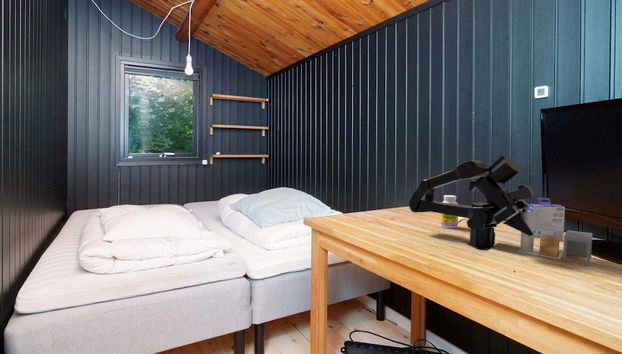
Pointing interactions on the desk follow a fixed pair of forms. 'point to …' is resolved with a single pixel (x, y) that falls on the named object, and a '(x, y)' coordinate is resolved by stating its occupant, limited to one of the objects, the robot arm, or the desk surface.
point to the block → (549, 246)
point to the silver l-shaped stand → (531, 237)
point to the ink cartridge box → (548, 219)
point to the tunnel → (577, 245)
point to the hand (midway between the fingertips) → (533, 234)
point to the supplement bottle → (449, 220)
